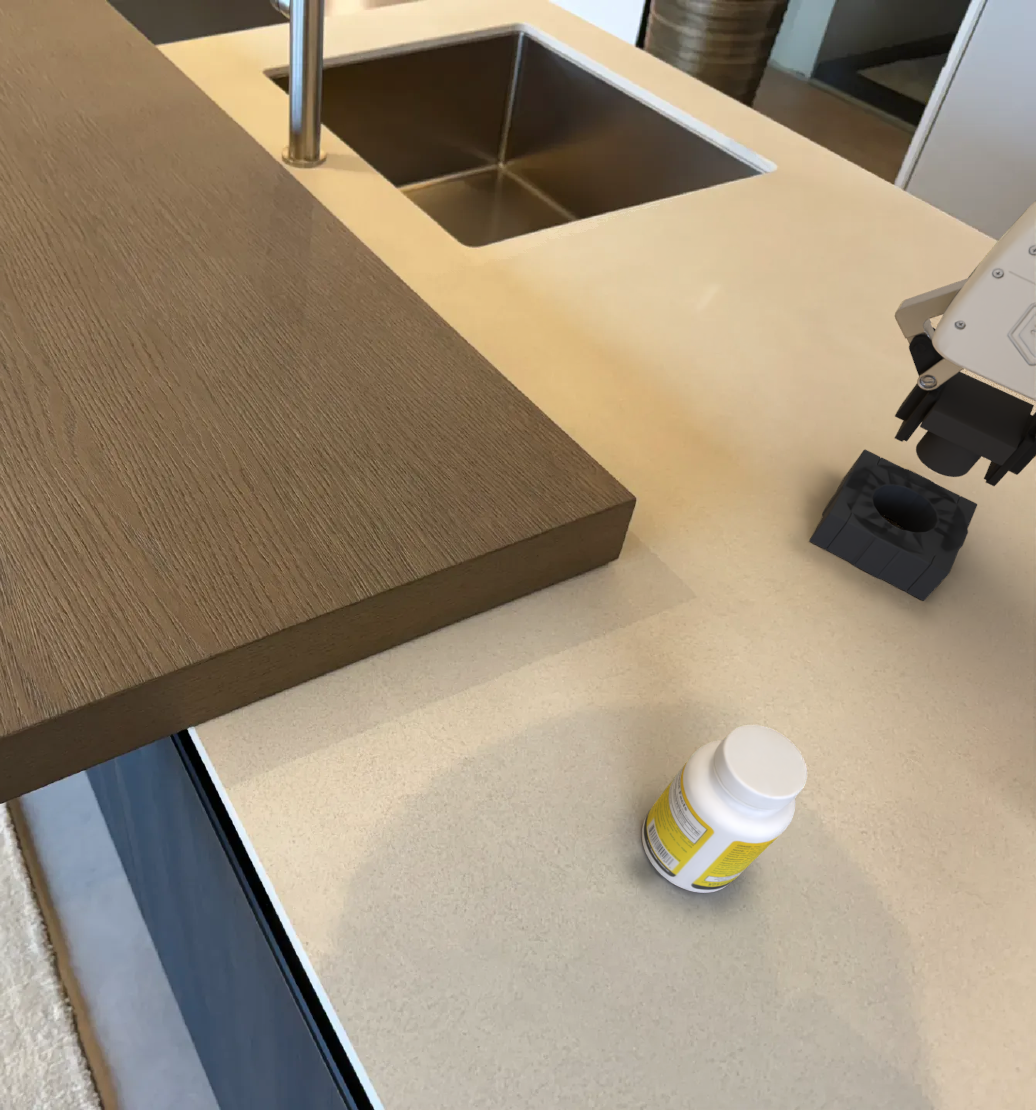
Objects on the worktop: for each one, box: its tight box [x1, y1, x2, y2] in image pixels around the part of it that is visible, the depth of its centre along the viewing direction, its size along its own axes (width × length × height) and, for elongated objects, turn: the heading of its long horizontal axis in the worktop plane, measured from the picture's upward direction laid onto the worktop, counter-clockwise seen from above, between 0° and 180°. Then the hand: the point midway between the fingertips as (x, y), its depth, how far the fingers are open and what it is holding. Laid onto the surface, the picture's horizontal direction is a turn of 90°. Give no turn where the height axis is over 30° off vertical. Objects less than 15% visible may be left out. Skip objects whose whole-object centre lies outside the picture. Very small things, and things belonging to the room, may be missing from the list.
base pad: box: [809, 449, 978, 602], centre depth 72 cm, size 8×8×3 cm
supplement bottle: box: [641, 723, 808, 894], centre depth 53 cm, size 5×5×10 cm
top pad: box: [915, 371, 1035, 478], centre depth 66 cm, size 5×5×4 cm
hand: (950, 448), depth 67 cm, fingers closed on top pad, 5 cm apart
